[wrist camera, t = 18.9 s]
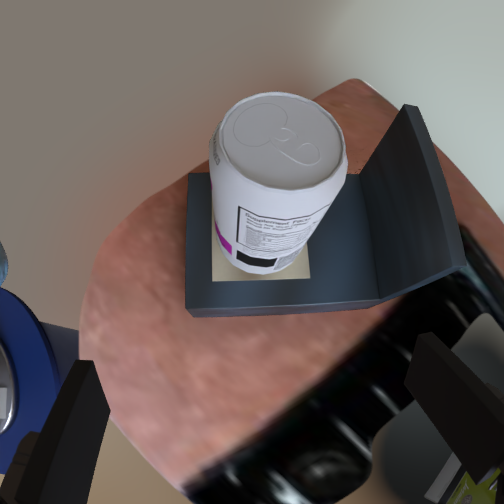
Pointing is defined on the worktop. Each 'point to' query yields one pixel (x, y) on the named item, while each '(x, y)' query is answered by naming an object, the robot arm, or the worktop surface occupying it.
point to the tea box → (460, 486)
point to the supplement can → (273, 177)
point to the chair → (340, 238)
